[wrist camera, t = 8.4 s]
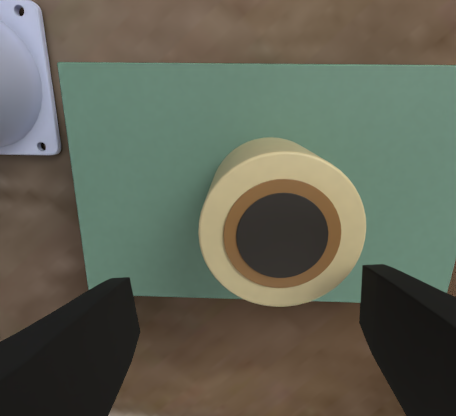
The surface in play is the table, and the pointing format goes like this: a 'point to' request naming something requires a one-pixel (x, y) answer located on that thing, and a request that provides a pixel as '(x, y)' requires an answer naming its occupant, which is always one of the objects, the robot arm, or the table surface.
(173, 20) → the table surface
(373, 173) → the desk shelf
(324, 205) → the tape roll
